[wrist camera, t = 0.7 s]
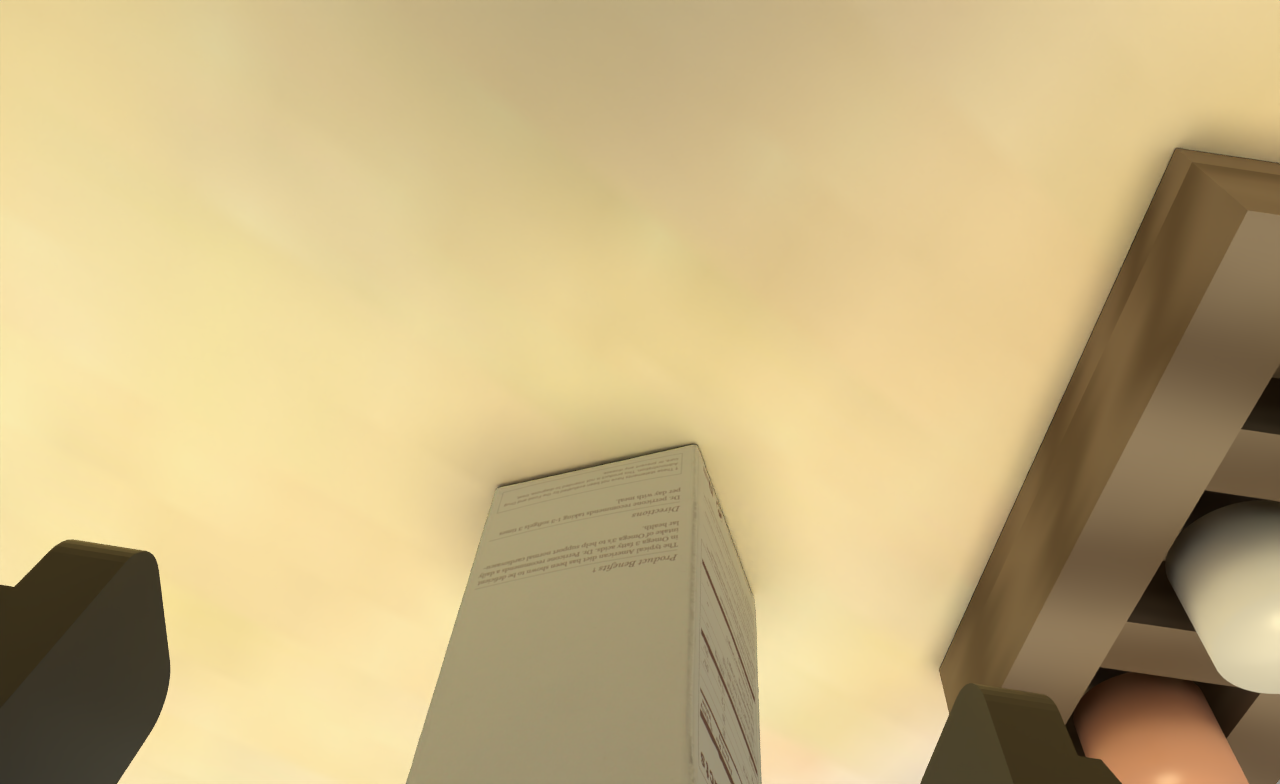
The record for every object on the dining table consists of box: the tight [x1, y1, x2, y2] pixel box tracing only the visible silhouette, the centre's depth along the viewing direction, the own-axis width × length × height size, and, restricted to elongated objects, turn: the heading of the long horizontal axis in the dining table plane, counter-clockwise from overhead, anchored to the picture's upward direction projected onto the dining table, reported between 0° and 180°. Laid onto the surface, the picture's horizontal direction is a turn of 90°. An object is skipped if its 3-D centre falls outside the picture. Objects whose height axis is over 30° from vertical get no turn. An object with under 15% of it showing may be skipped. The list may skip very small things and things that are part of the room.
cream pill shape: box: [1165, 500, 1280, 694], centre depth 26 cm, size 4×4×3 cm
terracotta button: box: [1073, 672, 1249, 784], centre depth 30 cm, size 4×4×3 cm
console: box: [939, 148, 1280, 784], centre depth 28 cm, size 20×10×4 cm, turn 173°
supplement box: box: [406, 445, 762, 784], centre depth 28 cm, size 7×7×13 cm
